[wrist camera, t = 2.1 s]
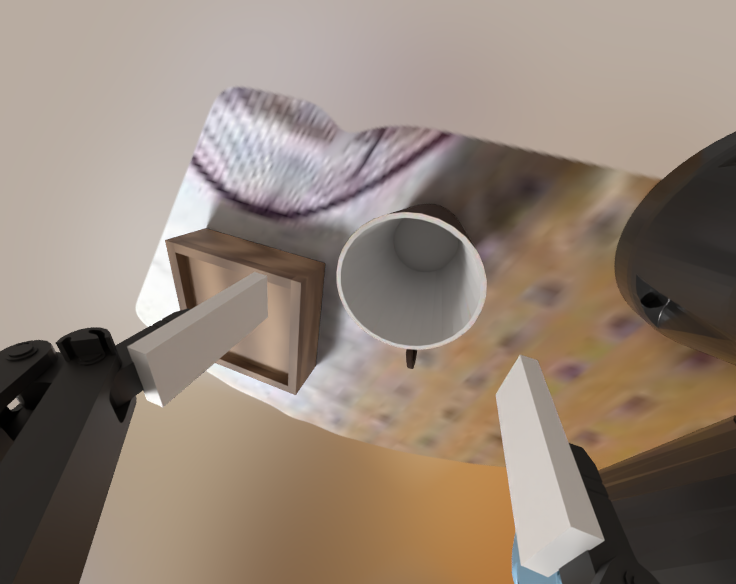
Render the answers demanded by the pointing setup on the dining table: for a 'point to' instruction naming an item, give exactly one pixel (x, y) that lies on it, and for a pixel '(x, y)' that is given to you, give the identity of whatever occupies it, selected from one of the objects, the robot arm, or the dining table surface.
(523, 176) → the dining table surface
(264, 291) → the robot arm
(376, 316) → the coffee mug
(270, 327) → the wooden tray
